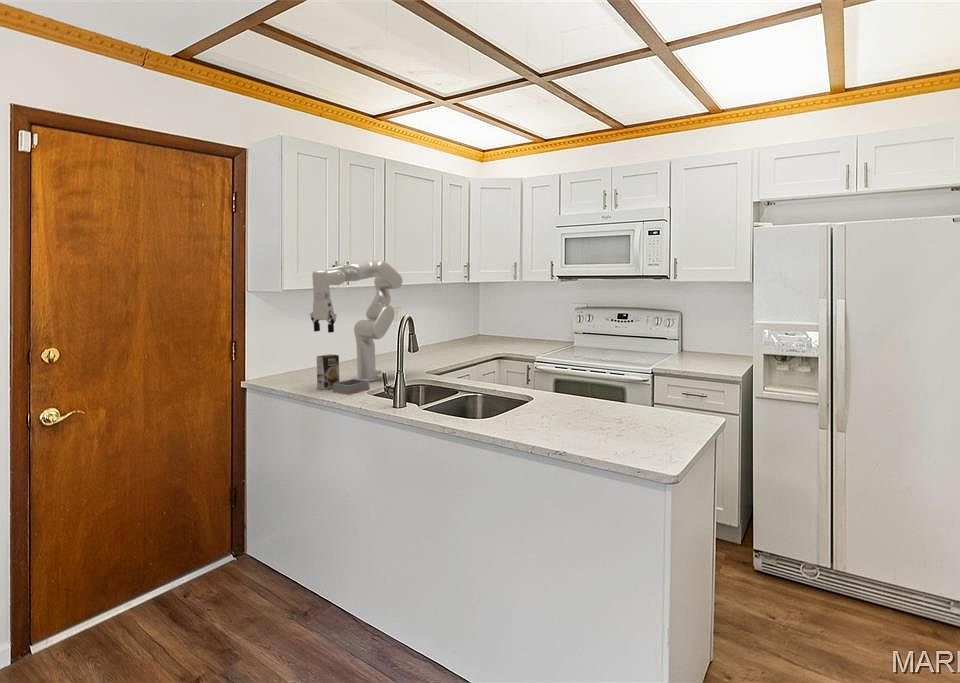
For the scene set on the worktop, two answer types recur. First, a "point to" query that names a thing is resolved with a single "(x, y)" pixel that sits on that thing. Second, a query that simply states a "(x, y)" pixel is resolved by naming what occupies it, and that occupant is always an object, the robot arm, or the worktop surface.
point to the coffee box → (327, 371)
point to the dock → (351, 386)
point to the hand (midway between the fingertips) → (324, 331)
